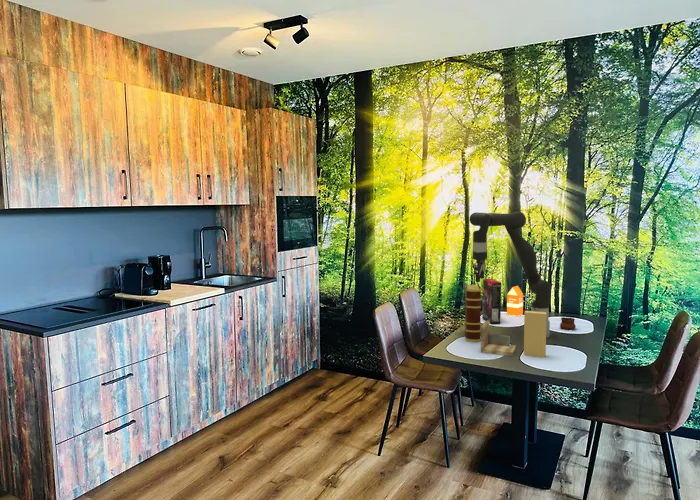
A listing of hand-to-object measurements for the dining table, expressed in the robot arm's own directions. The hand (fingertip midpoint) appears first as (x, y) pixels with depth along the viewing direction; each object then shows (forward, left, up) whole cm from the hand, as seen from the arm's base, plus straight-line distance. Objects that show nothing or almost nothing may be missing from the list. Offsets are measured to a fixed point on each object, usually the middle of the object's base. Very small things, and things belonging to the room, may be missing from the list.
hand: (479, 280), depth 256 cm
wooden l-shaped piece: (-8, +7, -36) cm, 38 cm away
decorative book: (-1, -20, -37) cm, 42 cm away
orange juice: (-42, -78, -37) cm, 96 cm away
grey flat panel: (-10, +3, -34) cm, 36 cm away
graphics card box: (-21, -59, -37) cm, 72 cm away
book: (-25, +15, -36) cm, 46 cm away
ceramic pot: (-62, -38, -37) cm, 82 cm away
